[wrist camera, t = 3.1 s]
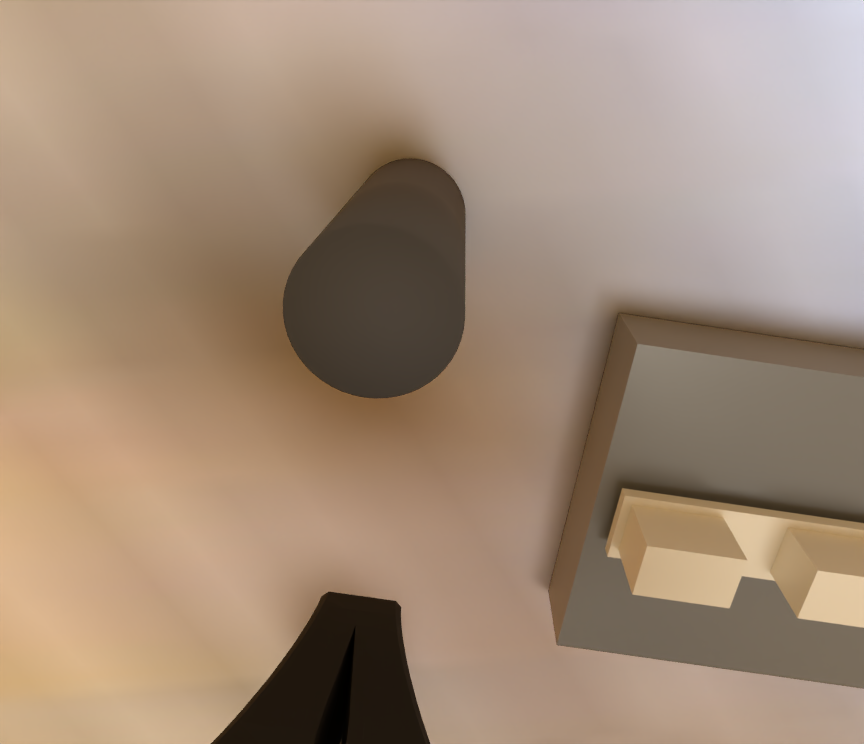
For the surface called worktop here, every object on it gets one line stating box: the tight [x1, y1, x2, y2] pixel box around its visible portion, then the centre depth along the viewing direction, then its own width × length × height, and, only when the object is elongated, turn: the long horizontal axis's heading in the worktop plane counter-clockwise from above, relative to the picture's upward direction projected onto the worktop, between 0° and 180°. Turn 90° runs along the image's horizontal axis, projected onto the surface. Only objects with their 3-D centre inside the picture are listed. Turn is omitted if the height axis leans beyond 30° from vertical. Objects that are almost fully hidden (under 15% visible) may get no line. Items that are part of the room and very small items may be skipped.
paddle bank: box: [605, 488, 864, 628], centre depth 15 cm, size 2×9×2 cm, turn 82°
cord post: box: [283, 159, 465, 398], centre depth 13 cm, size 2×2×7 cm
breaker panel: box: [548, 313, 864, 689], centre depth 17 cm, size 8×10×2 cm
